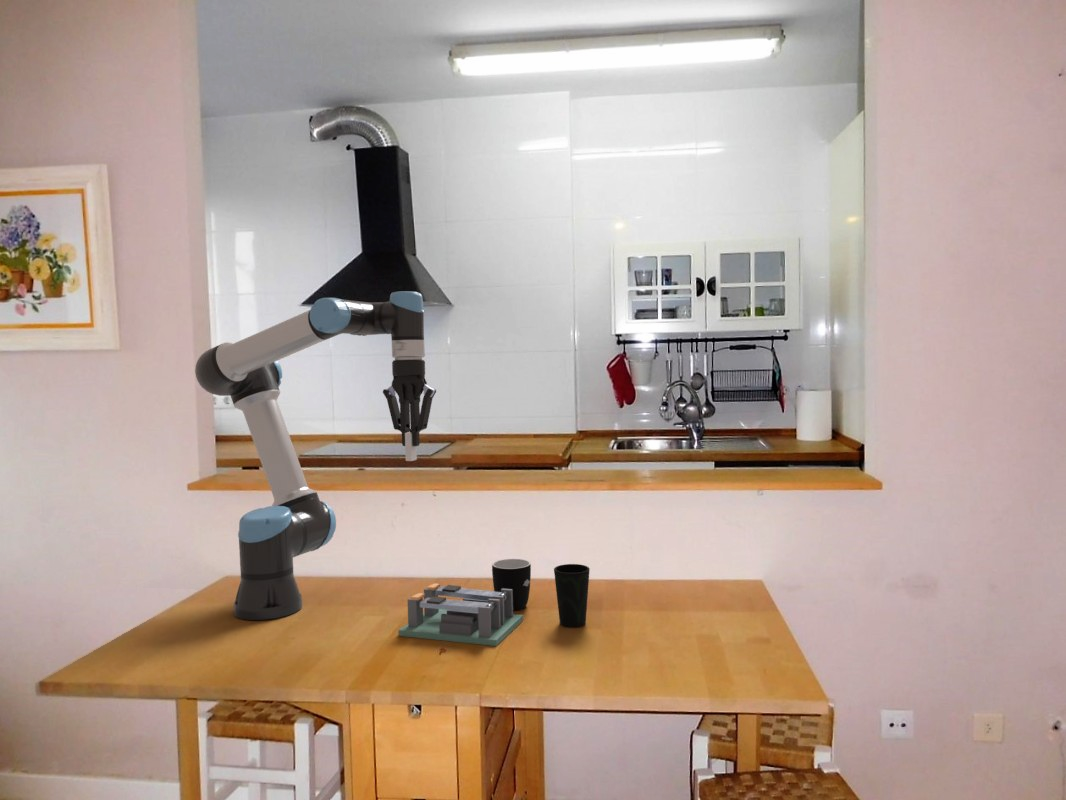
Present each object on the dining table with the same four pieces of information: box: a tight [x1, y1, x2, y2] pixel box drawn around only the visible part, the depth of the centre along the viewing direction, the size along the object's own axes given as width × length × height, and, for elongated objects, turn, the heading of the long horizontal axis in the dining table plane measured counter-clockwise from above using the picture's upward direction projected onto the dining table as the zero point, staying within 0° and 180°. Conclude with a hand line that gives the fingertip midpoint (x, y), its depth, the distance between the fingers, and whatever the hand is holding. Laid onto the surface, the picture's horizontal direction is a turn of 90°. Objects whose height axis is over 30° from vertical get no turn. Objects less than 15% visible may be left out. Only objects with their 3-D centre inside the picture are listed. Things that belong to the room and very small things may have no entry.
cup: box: [553, 563, 591, 629], centre depth 165 cm, size 8×8×12 cm
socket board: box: [397, 583, 524, 647], centre depth 163 cm, size 22×16×8 cm
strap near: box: [420, 596, 496, 612], centre depth 159 cm, size 16×4×2 cm, turn 71°
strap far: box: [436, 584, 509, 601], centre depth 166 cm, size 16×4×2 cm, turn 71°
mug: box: [491, 558, 532, 612], centre depth 179 cm, size 12×9×10 cm
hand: (411, 460), depth 178 cm, fingers closed
